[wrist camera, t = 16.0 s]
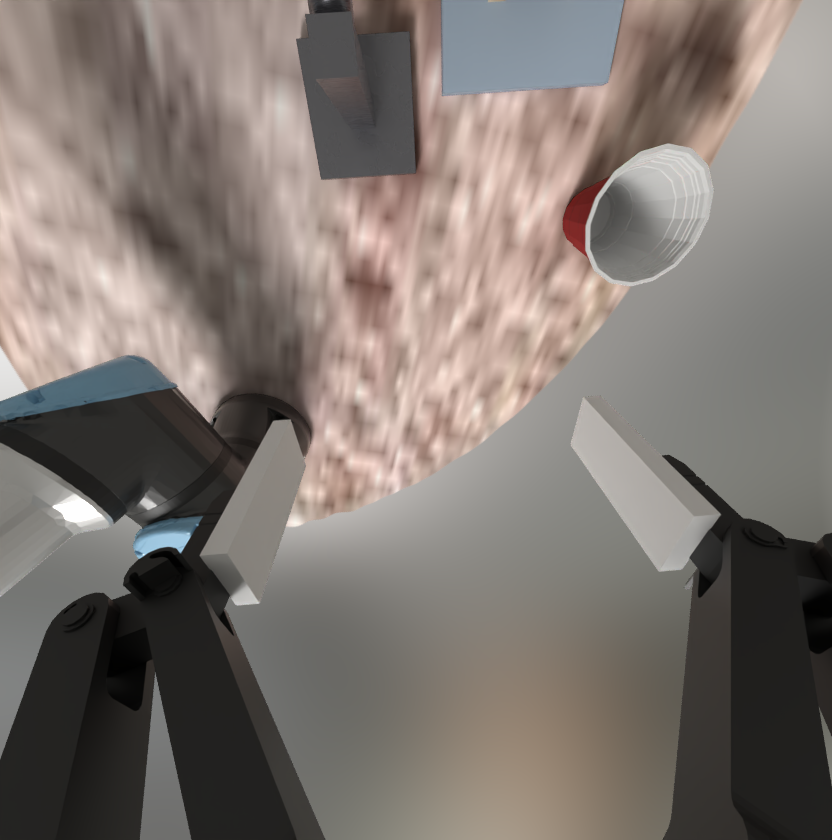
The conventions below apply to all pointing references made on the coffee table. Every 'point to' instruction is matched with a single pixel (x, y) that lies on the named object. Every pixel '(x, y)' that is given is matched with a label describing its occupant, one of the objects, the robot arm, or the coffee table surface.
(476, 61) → the mat
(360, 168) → the stand
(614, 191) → the plastic cup
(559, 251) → the coffee table surface
